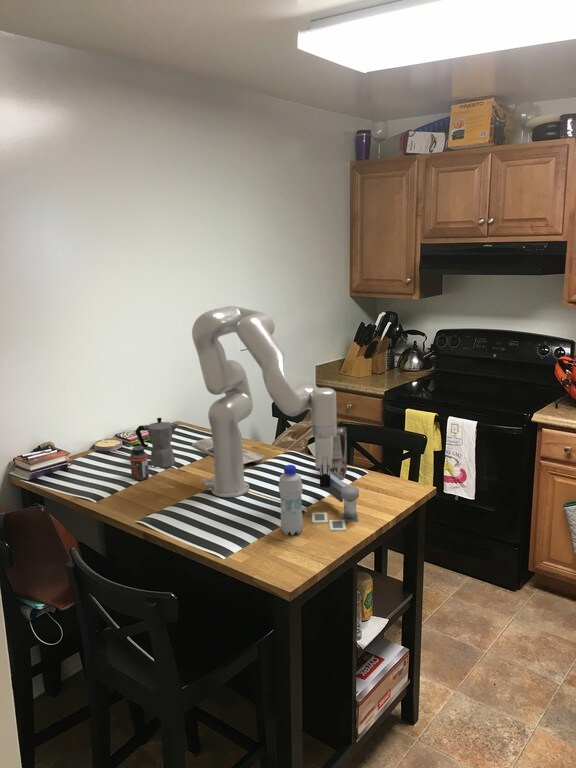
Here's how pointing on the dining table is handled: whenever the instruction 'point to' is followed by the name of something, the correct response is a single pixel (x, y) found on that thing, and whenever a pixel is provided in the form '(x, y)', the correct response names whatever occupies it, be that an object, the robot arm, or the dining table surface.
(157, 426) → the coffeepot
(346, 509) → the post
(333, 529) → the label tile
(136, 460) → the supplement bottle
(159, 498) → the dining table surface
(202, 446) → the newspaper
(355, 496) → the bar
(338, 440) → the coffee box
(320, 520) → the label tile
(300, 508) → the bottle
